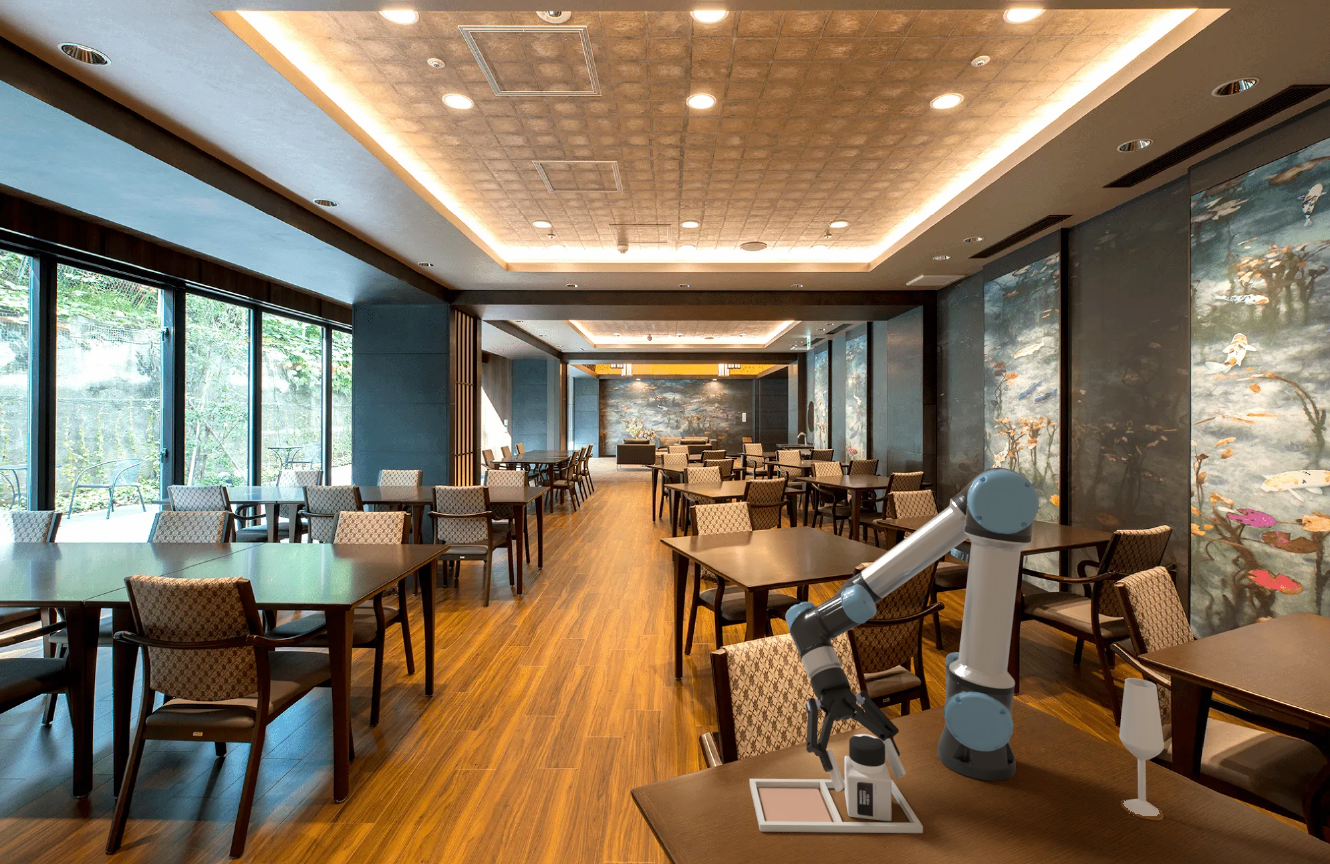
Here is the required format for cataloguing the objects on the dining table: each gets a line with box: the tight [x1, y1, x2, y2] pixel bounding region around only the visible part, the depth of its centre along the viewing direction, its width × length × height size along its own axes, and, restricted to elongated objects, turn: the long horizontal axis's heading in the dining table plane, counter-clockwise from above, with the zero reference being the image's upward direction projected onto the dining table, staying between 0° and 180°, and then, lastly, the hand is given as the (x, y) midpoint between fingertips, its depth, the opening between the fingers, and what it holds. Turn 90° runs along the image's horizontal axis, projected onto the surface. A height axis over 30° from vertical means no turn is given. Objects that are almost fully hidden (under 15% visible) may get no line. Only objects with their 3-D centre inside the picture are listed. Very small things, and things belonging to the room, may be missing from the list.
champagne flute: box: [1119, 677, 1165, 816], centre depth 116 cm, size 7×7×24 cm
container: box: [844, 733, 893, 822], centre depth 116 cm, size 8×8×13 cm
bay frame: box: [749, 778, 924, 834], centre depth 116 cm, size 29×15×1 cm, turn 89°
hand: (871, 782), depth 115 cm, fingers open, 13 cm apart
